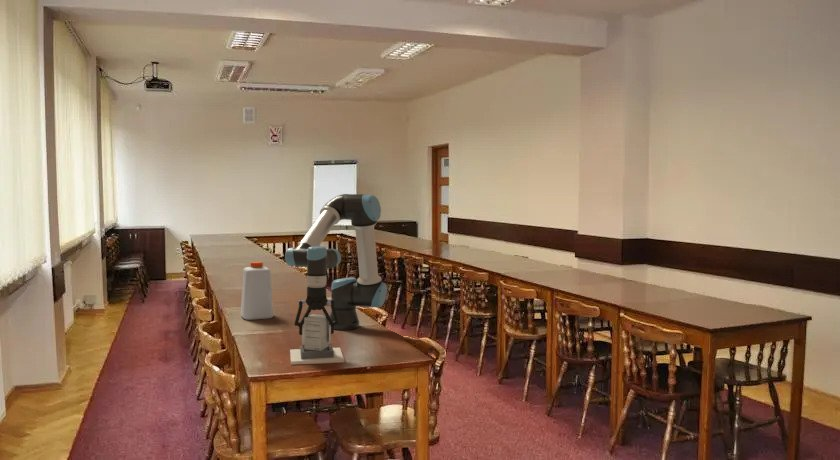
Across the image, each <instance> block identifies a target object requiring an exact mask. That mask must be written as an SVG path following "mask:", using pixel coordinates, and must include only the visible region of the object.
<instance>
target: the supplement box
mask: <svg viewBox="0 0 840 460" xmlns="http://www.w3.org/2000/svg"><path fill="white" fill-rule="evenodd" d="M303 326H304V344H303V345H304V349H308V350H318V351H321V350H323V349H325V348H326V347H328V344H329V342H328V319H327V317H326V316H325V314H315V313H313V314H309V315H308V317H305V318H304V324H303Z"/></svg>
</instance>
